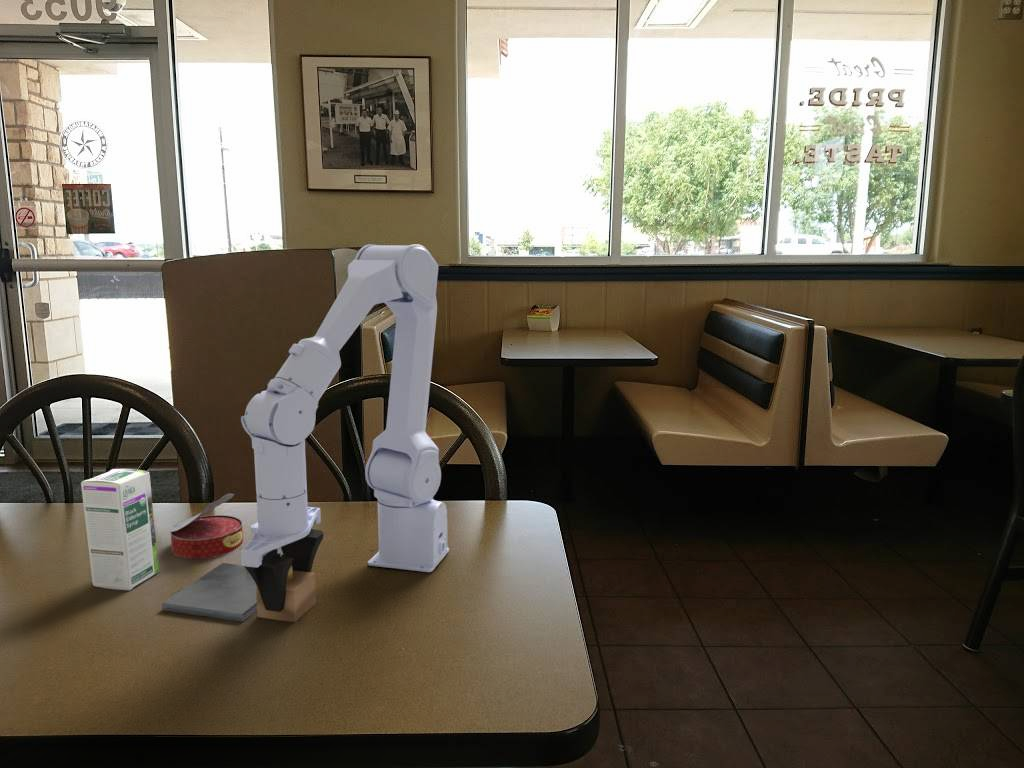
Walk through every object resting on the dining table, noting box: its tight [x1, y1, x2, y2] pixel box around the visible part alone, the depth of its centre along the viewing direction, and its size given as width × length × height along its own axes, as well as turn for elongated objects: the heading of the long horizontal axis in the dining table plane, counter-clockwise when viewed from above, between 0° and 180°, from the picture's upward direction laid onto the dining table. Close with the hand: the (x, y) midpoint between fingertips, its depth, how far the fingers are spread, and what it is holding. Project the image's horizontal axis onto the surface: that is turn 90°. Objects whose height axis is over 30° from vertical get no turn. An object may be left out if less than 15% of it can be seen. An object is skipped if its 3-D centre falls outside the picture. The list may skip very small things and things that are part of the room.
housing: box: [256, 566, 317, 623], centre depth 89 cm, size 5×5×6 cm
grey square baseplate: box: [161, 562, 257, 623], centre depth 93 cm, size 11×12×1 cm
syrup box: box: [80, 468, 160, 591], centre depth 96 cm, size 6×6×14 cm
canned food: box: [169, 493, 244, 559], centre depth 108 cm, size 11×10×10 cm
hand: (286, 598), depth 89 cm, fingers closed on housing, 5 cm apart
